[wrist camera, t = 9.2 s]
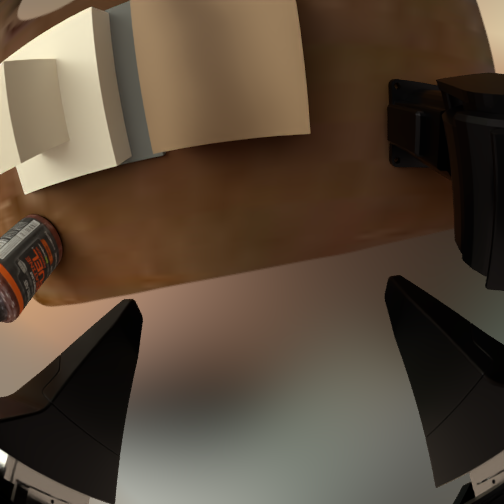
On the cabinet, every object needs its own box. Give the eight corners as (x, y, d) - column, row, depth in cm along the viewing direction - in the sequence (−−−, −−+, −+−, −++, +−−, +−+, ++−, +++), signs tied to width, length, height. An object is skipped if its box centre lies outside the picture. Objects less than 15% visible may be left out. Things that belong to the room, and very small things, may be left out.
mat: (142, -1, 12) (139, -3, 11) (165, 153, 18) (163, 155, 18) (5, 71, 13) (1, 72, 12) (30, 190, 19) (26, 193, 19)
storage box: (279, -13, 12) (288, -42, 8) (296, 122, 17) (310, 133, 13) (157, 6, 12) (129, -14, 8) (176, 137, 18) (153, 154, 13)
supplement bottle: (72, 266, 24) (13, 354, 14) (32, 262, 23) (-25, 337, 14) (56, 210, 20) (-24, 291, 11) (16, 212, 20) (-57, 280, 11)
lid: (108, 13, 12) (43, -8, 5) (131, 155, 18) (75, 196, 11) (18, 63, 12) (-49, 74, 6) (42, 182, 18) (-16, 225, 12)
